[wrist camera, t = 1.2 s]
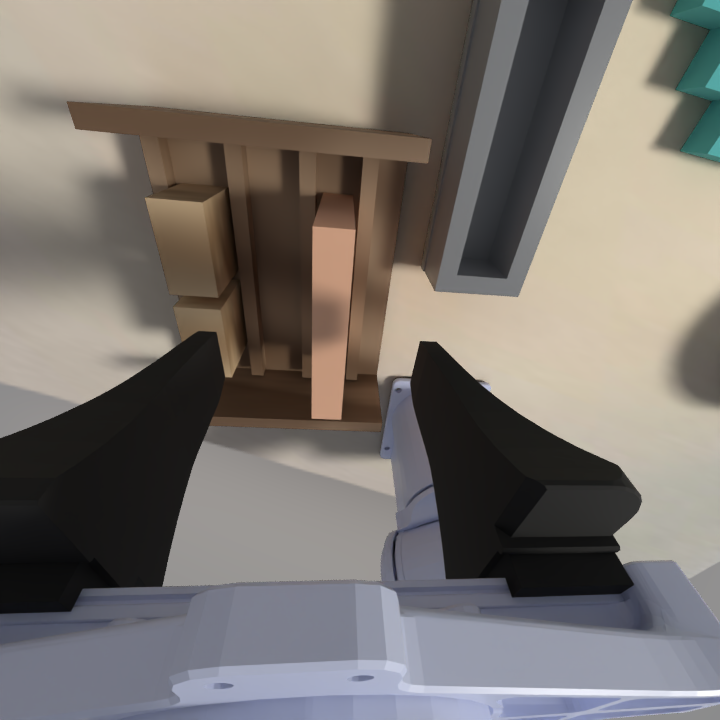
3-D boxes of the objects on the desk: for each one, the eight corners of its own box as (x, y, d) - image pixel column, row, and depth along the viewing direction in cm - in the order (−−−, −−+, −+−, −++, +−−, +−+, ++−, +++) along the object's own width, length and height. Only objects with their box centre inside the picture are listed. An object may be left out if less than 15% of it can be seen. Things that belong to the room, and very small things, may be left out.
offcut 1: (238, 269, 21) (218, 297, 17) (198, 266, 20) (169, 294, 17) (228, 187, 18) (202, 202, 15) (181, 183, 18) (144, 197, 15)
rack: (374, 374, 27) (380, 431, 22) (205, 366, 26) (172, 424, 21) (408, 133, 18) (432, 139, 13) (148, 106, 17) (66, 101, 12)
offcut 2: (247, 341, 24) (231, 377, 20) (212, 339, 23) (190, 375, 20) (240, 280, 21) (220, 309, 18) (200, 277, 21) (172, 307, 18)
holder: (495, 272, 22) (519, 297, 19) (420, 266, 22) (433, 290, 19) (602, -51, 14) (673, -98, 11) (486, -69, 14) (526, -122, 11)
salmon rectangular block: (342, 348, 24) (341, 419, 18) (320, 347, 24) (311, 418, 18) (352, 195, 18) (355, 229, 13) (323, 192, 18) (312, 226, 13)
